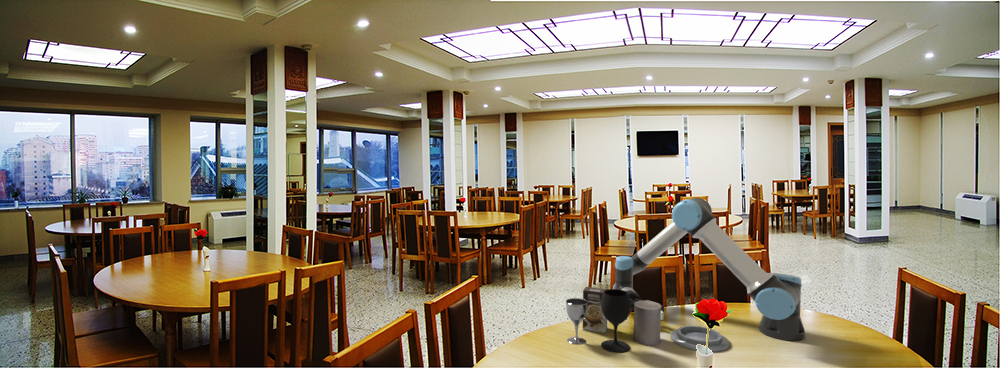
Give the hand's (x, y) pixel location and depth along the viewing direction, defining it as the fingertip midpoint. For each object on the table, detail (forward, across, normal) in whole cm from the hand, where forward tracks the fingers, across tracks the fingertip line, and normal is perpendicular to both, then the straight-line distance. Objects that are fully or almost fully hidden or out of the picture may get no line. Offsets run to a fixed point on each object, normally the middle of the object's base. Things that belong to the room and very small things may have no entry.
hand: (644, 316), depth 170 cm
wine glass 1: (+3, +26, -9) cm, 27 cm away
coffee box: (-9, +17, -9) cm, 21 cm away
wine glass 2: (+8, +13, -9) cm, 17 cm away
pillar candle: (+2, 0, -9) cm, 9 cm away
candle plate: (+2, -20, -8) cm, 22 cm away
